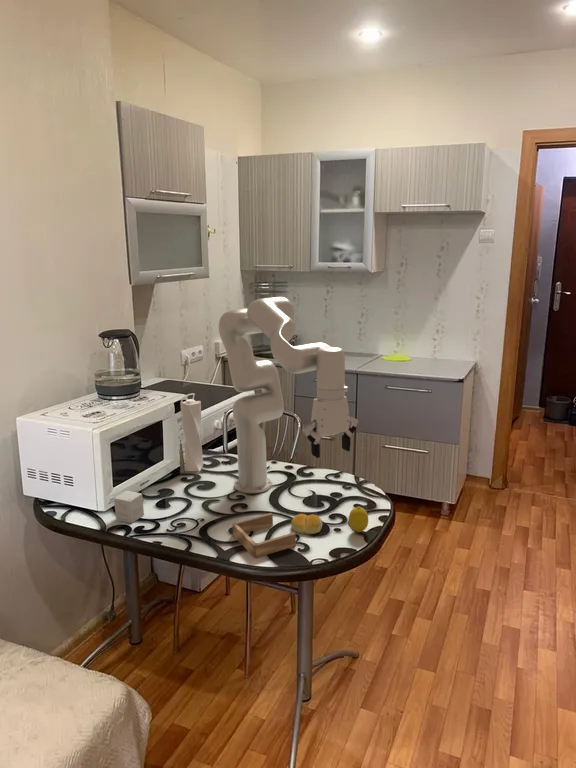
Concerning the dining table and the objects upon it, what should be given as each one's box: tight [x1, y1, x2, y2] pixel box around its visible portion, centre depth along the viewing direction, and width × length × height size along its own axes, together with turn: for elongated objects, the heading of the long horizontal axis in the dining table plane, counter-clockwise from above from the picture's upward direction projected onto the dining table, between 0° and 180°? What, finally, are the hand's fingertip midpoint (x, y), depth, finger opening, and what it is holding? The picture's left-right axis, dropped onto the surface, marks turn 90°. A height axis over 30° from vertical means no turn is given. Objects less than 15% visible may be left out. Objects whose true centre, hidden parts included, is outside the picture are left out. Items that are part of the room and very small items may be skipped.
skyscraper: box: [178, 393, 204, 475], centre depth 212 cm, size 8×8×28 cm
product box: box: [113, 490, 145, 524], centre depth 178 cm, size 6×6×7 cm
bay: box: [231, 512, 297, 559], centre depth 164 cm, size 14×12×4 cm
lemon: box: [348, 506, 369, 534], centre depth 167 cm, size 6×6×8 cm
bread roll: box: [290, 513, 324, 535], centre depth 171 cm, size 8×9×4 cm
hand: (331, 453), depth 163 cm, fingers open, 9 cm apart
